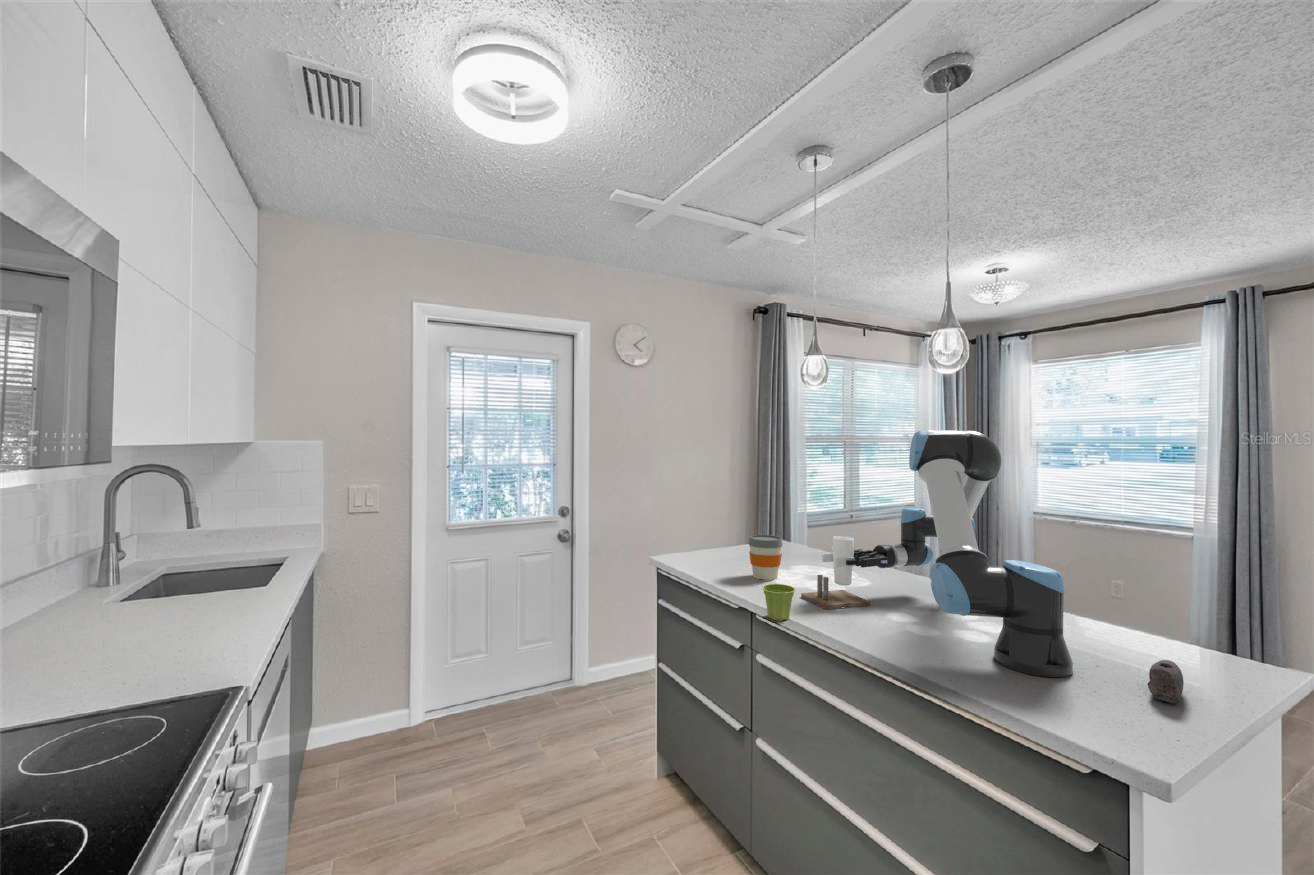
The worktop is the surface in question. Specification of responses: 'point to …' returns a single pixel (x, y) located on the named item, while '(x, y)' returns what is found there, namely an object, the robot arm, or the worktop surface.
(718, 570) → the worktop surface
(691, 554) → the worktop surface
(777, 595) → the plant pot
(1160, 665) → the perforated stone tool
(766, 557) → the reusable coffee cup
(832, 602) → the board
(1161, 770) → the worktop surface
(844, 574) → the white tall cylinder
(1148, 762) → the worktop surface
